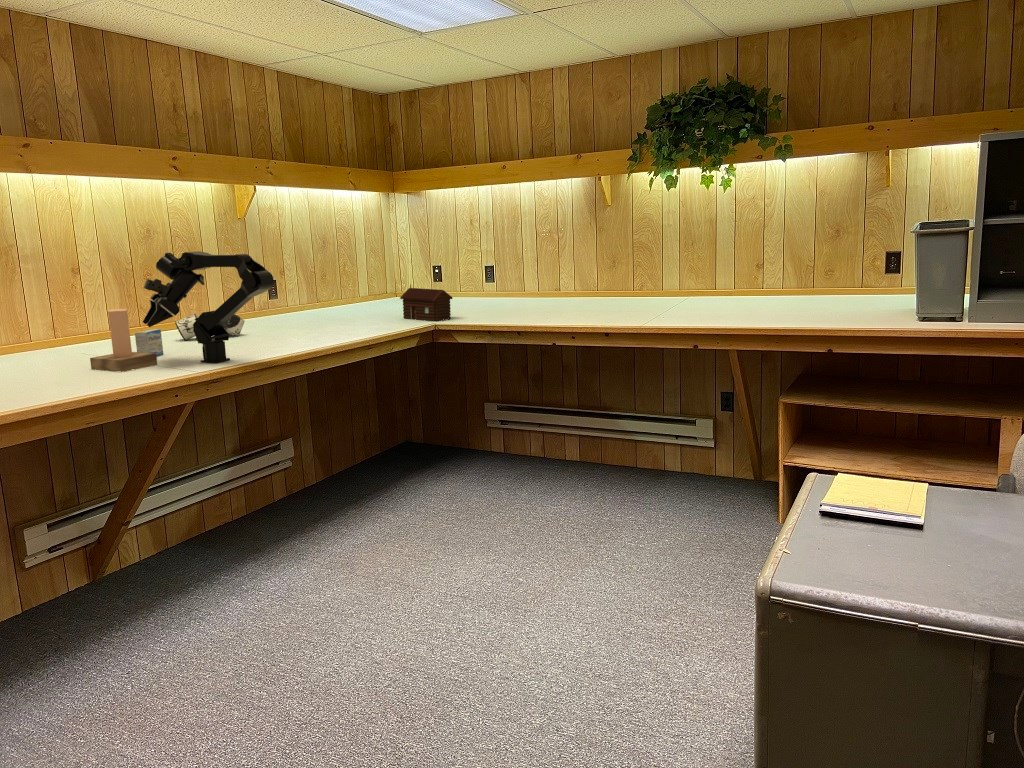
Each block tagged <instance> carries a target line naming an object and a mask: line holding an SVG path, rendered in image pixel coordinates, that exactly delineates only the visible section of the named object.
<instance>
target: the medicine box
mask: <svg viewBox="0 0 1024 768" xmlns="http://www.w3.org/2000/svg"><path fill="white" fill-rule="evenodd" d="M134 339H135V347H136V352H142V353H156V356H157V357H159V356H162V355H164V346H163V338H162V329H160V328H151V329H146V330H142V331H137V332H134Z"/></svg>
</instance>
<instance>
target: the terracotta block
mask: <svg viewBox="0 0 1024 768" xmlns="http://www.w3.org/2000/svg"><path fill="white" fill-rule="evenodd" d="M107 314H108V315H107V317H108V322H109V329H110V337H111V347H112V354H113V356H114V358H116V357H129V356H132V352H133V351H132V350H133V349H132V341H131V333H130V325H129V317H128V316H129V315H128V309H127V308H115V309H113V308H111V309H108V310H107Z"/></svg>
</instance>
